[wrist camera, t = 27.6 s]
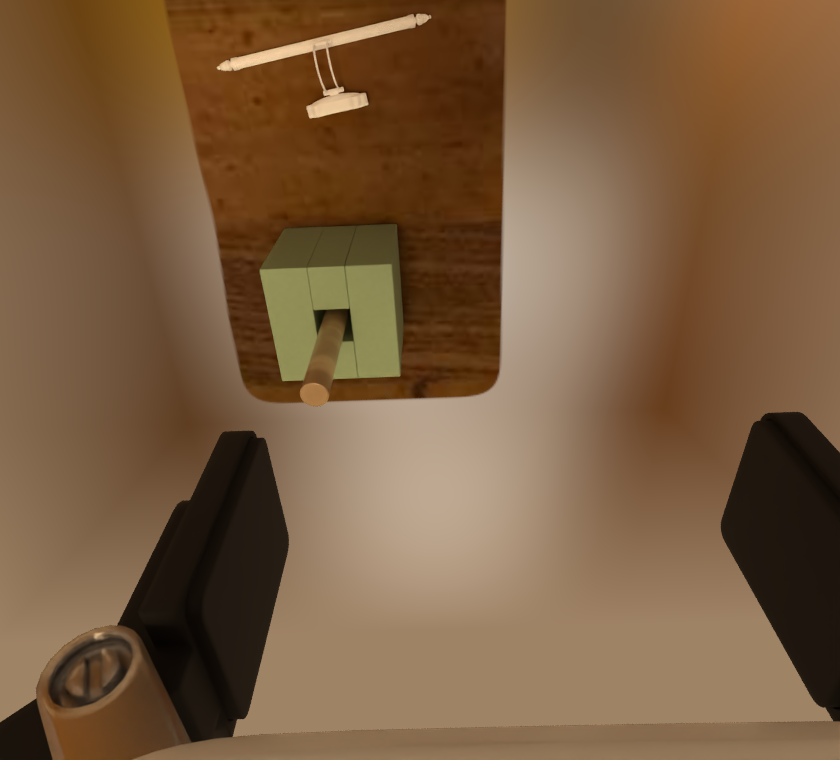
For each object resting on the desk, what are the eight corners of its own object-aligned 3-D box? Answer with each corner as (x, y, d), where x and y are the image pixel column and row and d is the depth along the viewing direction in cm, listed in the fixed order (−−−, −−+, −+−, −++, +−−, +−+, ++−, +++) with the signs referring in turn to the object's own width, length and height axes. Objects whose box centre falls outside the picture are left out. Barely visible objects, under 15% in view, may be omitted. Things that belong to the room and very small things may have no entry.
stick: (355, 269, 46) (326, 382, 32) (357, 289, 47) (330, 406, 33) (334, 270, 46) (297, 383, 32) (337, 289, 47) (302, 407, 33)
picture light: (430, 9, 36) (430, 9, 35) (442, 86, 39) (443, 90, 37) (216, 61, 38) (206, 64, 36) (241, 132, 40) (232, 138, 38)
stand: (396, 223, 44) (391, 263, 37) (403, 324, 48) (400, 376, 41) (284, 228, 44) (259, 269, 37) (301, 328, 48) (282, 381, 42)
